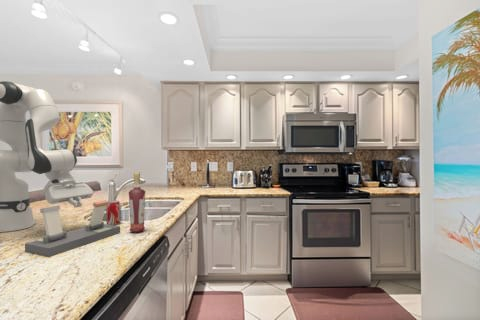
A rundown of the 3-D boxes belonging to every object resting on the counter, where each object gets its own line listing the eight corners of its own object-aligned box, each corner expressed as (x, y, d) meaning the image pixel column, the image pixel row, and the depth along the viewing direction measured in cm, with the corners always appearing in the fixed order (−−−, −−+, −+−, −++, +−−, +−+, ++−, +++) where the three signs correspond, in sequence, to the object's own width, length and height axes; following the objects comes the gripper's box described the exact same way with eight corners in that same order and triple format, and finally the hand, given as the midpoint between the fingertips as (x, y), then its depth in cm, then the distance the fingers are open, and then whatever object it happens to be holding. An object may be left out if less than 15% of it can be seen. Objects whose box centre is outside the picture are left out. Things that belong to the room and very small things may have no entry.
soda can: (114, 226, 130) (114, 202, 130) (103, 225, 131) (102, 202, 131) (123, 222, 137) (123, 200, 137) (112, 222, 138) (112, 200, 138)
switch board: (24, 251, 95) (24, 237, 95) (98, 229, 123) (98, 218, 123) (49, 256, 89) (48, 241, 89) (120, 232, 118) (120, 221, 118)
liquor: (144, 233, 117) (144, 172, 117) (127, 234, 116) (127, 173, 116) (146, 228, 125) (146, 172, 124) (130, 229, 123) (130, 172, 123)
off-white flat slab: (86, 228, 112) (93, 202, 110) (98, 225, 117) (105, 200, 115) (89, 231, 111) (97, 204, 109) (101, 227, 116) (109, 202, 115)
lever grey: (45, 242, 96) (39, 209, 97) (61, 237, 101) (56, 206, 102) (49, 241, 95) (43, 208, 96) (65, 236, 100) (59, 205, 101)
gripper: (81, 186, 132) (95, 206, 128) (38, 191, 113) (52, 215, 109) (87, 178, 130) (101, 198, 127) (44, 181, 111) (59, 205, 108)
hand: (78, 206), depth 118 cm, fingers closed
